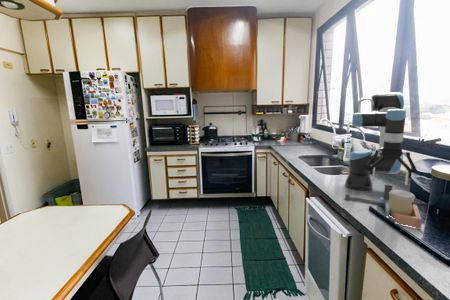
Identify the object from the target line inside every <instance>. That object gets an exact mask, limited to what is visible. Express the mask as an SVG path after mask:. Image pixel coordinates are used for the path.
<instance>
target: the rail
mask: <svg viewBox="0 0 450 300" xmlns="http://www.w3.org/2000/svg"><path fill="white" fill-rule="evenodd" d="M344 199H345V200H347V201H352V202H353V201H354V202H358V203H365V204H370V205H377V206H382V207H385V203H380V200H379V201H377V200H374V199H373V200H371V199H366V198H361V197H353V196H351V193H350V192H349V193H348V192H346V193H345V198H344Z"/></svg>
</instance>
